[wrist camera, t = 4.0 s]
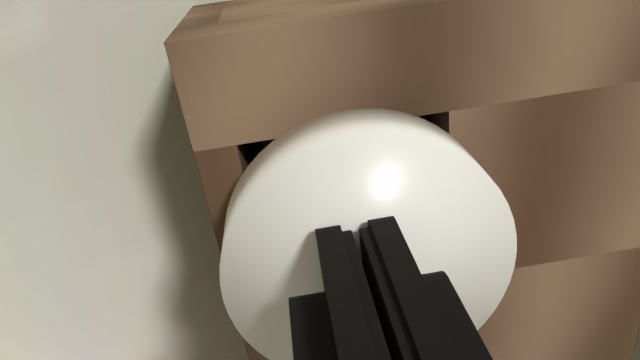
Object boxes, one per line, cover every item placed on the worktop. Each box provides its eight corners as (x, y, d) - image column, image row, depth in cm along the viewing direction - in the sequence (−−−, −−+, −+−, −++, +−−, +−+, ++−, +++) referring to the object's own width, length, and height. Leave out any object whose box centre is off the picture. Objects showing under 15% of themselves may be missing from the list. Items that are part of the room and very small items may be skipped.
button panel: (588, -53, 15) (722, -42, 11) (538, 395, 25) (599, 500, 20) (193, 6, 15) (164, 42, 10) (294, 439, 24) (302, 555, 20)
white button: (424, 37, 15) (526, 111, 9) (429, 215, 18) (509, 356, 12) (215, 70, 15) (184, 166, 9) (254, 244, 18) (251, 401, 12)
